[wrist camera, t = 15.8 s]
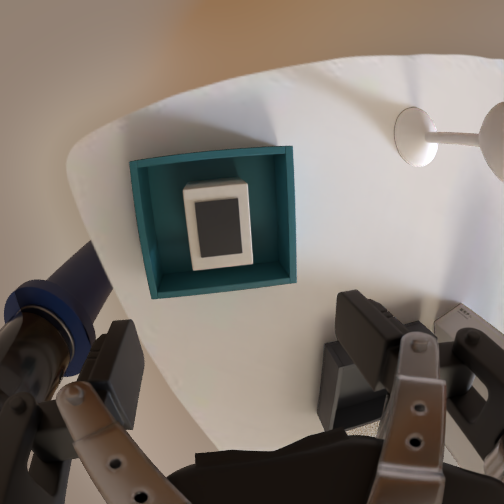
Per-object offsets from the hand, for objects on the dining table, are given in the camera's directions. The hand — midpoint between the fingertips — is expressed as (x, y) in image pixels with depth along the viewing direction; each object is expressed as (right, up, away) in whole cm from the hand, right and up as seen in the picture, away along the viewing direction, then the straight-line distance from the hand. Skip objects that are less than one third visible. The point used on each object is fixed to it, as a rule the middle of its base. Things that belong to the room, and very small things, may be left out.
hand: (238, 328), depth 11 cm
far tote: (+17, -13, +26) cm, 33 cm away
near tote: (-3, +6, +16) cm, 17 cm away
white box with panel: (-3, +6, +15) cm, 17 cm away
